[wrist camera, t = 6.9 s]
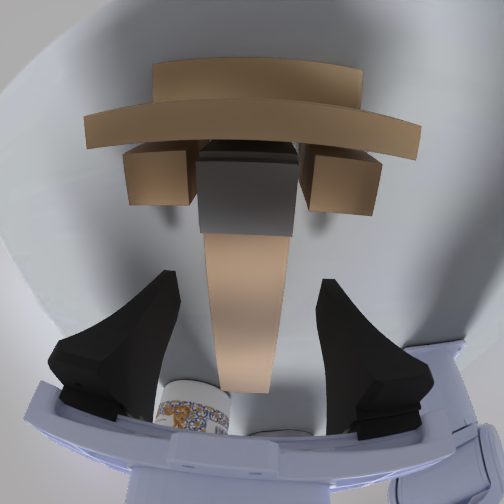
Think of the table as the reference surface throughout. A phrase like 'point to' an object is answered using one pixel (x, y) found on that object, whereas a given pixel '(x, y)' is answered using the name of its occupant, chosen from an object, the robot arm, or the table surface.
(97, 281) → the table surface
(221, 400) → the bath foam
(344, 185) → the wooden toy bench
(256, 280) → the brown wooden block
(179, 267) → the table surface
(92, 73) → the table surface
